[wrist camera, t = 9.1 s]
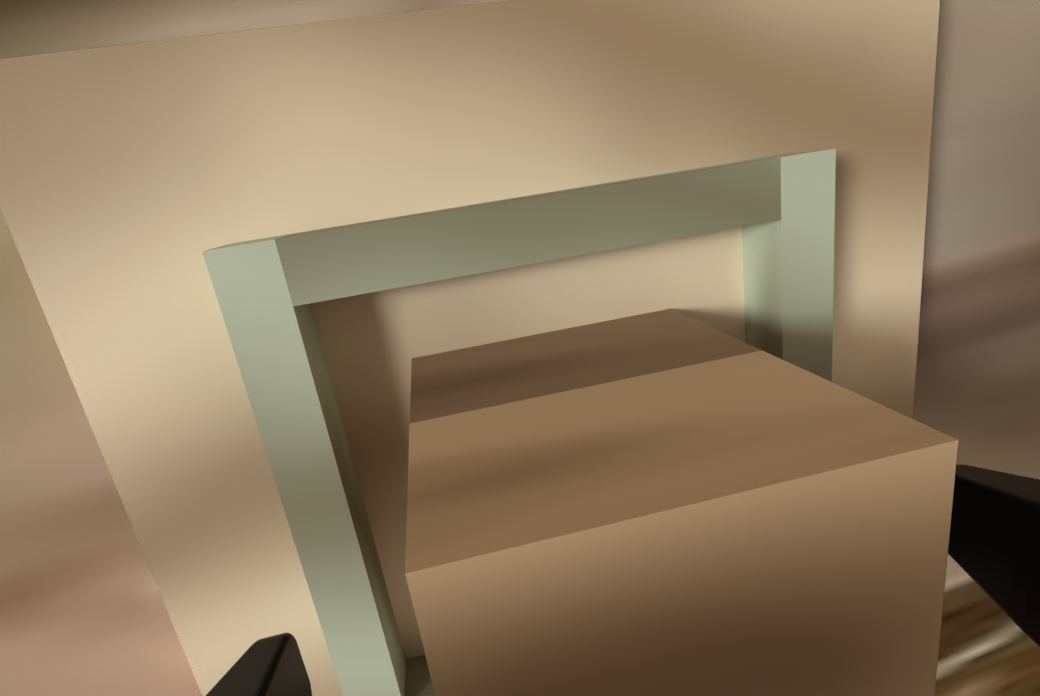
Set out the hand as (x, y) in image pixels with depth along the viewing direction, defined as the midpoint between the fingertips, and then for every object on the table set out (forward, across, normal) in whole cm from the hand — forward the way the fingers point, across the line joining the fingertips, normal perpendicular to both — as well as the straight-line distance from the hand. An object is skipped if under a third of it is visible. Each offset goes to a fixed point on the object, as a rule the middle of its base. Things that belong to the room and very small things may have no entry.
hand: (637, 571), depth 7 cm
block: (+4, 0, 0) cm, 4 cm away
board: (+5, 0, 0) cm, 5 cm away
